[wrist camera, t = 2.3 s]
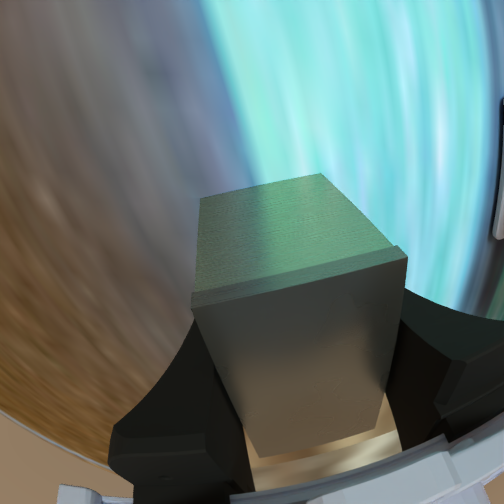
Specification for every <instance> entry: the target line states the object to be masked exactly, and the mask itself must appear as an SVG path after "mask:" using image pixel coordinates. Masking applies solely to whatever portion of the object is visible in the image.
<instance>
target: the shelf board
mask: <svg viewBox="0 0 504 504" xmlns="http://www.w3.org/2000/svg"><path fill="white" fill-rule="evenodd" d="M243 429H244V427H243ZM244 435H245V440H246V446H247V451H248V456H249V461H250V467H251V471H252V476H253V481H254V485H255V490H256V492H257V491H264V490H270V489H275V488H281V487H286V486H291V485H296V484H300V483H305V482H309V481H313V480H317V479H321V478H325V477H329V476H332V475H336V474H339V473H343V472H346V471H350V470H353V469H356V468H359V467H362V466H365V465H368V464H371V463H374V462H377V461H380V460H382V459H385V458H388V457H390V456H393V455H396V454H398V453H401V452H402V448H401V444H400V440H399V436H398V432H397V428H396V425H395V421H394V418H393V415H392V412H391V408H390V405H389V402H388V400H387V397H386V394H385V393H384V397H383V401H382V405H381V408H380V412H379V416H378V419H377V423H376V426H375V429H372V430H369V431H366V432H363V433H360V434H357V435H354V436H351V437H347V438H344V439H341V440H337V441H334V442H330V443H327V444H323V445H319V446H315V447H311V448H307V449H303V450H299V451H294V452H290V453H285V454H280V455H275V456H270V457H265V458H259V457H258V455H257V453H256V451H255V449H254V447H253V445H252V443H251V441H250V439H249V437H248V435H247V433H246V431H245V429H244Z"/></svg>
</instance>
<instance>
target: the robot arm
mask: <svg viewBox="0 0 504 504" xmlns="http://www.w3.org/2000/svg"><path fill="white" fill-rule="evenodd" d="M503 103H504V101H503ZM492 234H493V236H494V237H495V238H496V239H497V240H500V239H503V238H504V127H503V152H502V165H501V176H500V185H499V193H498V201H497V207H496V214H495V220H494V225H493V232H492ZM385 394H386V397H387V400H388V402H389V405H390V408H391V412H392V415H393V418H394V421H395V425H396V428H397V432H398V436H399V440H400V444H401V448H402V452H401V453H398V454H396V455H393V456H390V457H388V458H385V459H382V460H380V461H377V462H374V463H371V464H368V465H365V466H362V467H359V468H356V469H353V470H350V471H346V472H343V473H339V474H336V475H332V476H329V477H325V478H321V479H317V480H313V481H309V482H305V483H300V484H296V485H291V486H286V487H281V488H275V489H270V490H264V491H257V492H256V490H255V485H254V481H253V476H252V471H251V467H250V461H249V456H248V451H247V446H246V440H245V435H244V429H243V425H242V423H241V421H240V419H239V417H238V414H237V412H236V410H235V408H234V406H233V404H232V402H231V400H230V398H229V395H228V393H227V391H226V389H225V387H224V385H223V382H222V380H221V378H220V376H219V374H218V371H217V369H216V367H215V365H214V362H213V360H212V358H211V355H210V353H209V351H208V348H207V346H206V344H205V341H204V339H203V337H202V334H201V332H200V329H199V327H198V325H197V322H196V320H195V319H194V321H193V323H192V326H191V328H190V330H189V332H188V334H187V336H186V338H185V340H184V342H183V344H182V346H181V348H180V349H179V351H178V353H177V355H176V356H175V358H174V359H173V361H172V362H171V364H170V366H169V367H168V369H167V370H166V371H165V373H164V374H163V375H162V377H161V378H160V379H159V381H158V382H157V383H156V385H155V386H154V387H153V388H152V389H151V391H150V392H149V393H148V394H147V395H146V396H145V397H144V398H143V399H142V400H141V401H140V402H139V403H138V404H137V405H136V406H135V407H134V408H133V409H132V410H131V411H130V412H129V413H128V414H127V415H125V416H124V417H123V418H122V419H121V420H120V421H119V422H117V423H116V424H115V425H114V427H113V431H112V434H111V439H110V446H109V454H108V465H109V467H110V468H111V469H112V470H113V471H114V472H115V473H117V474H118V475H120V476H121V477H123V478H124V479H126V480H127V481H129V482H130V483H132V484H133V485H134V490H133V491H134V492H133V498H124V497H111V496H101V495H100V494H99V493H97V492H96V491H94V490H92V489H89V488H84V487H79V486H72V485H65V484H60V485H59V491H58V498H57V504H491V503H490V501H489V498H488V496H487V494H486V491H485V489H484V487H483V486H484V485H485V484H487V483H488V482H490V481H491V480H493V479H494V478H496V477H497V476H499V475H500V474H502V473H503V472H504V321H498V320H492V319H486V318H481V317H477V316H473V315H469V314H466V313H462V312H459V311H456V310H453V309H450V308H447V307H445V306H442V305H439V304H437V303H434V302H432V301H430V300H428V299H426V298H423V297H421V296H419V295H417V294H415V293H413V292H411V291H410V290H408V289H406V288H404V295H403V302H402V309H401V315H400V321H399V327H398V333H397V338H396V344H395V349H394V354H393V358H392V363H391V368H390V372H389V377H388V381H387V385H386V389H385Z"/></svg>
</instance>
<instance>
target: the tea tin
mask: <svg viewBox="0 0 504 504" xmlns="http://www.w3.org/2000/svg"><path fill="white" fill-rule="evenodd" d="M407 262H408V256H407V255H406V254H405V253H404V252H403V251H402V250H401V249H400V248H399V247H398V246H397V245H396V246H393V245H392V244H391V242H390V241H389V240H388V239H387V238H386V237H385V236H384V235H383V234H382V233H381V232H380V231H379V230H378V229H377V228H376V227H375V226H374V225H373V224H372V222H371V221H370V220H369V219H368V218H367V217H366V216H365V215H364V214H363V213H362V212H361V211H360V210H359V209H358V208H357V207H356V206H355V205H354V204H353V203H352V202H351V201H350V200H349V199H348V198H347V197H346V196H345V195H344V194H342V193H341V192H340V191H339V190H338V189H337V188H336V187H335V186H334V185H333V184H332V183H331V182H330V181H329V180H328V179H327V178H326V177H325V176H324V175H322V174H321V173H319V174H314V175H309V176H303V177H298V178H293V179H288V180H283V181H278V182H273V183H268V184H263V185H258V186H254V187H249V188H245V189H240V190H236V191H231V192H227V193H222V194H218V195H214V196H209V197H205V198H201V199H200V209H199V223H198V238H197V255H196V274H195V292H193V293H192V295H191V310H192V312H193V315H194V317H195V320H196V322H197V325H198V327H199V329H200V332H201V334H202V337H203V339H204V341H205V344H206V346H207V348H208V351H209V353H210V355H211V358H212V360H213V362H214V365H215V367H216V369H217V371H218V374H219V376H220V378H221V380H222V382H223V385H224V387H225V389H226V391H227V393H228V395H229V398H230V400H231V402H232V404H233V406H234V408H235V410H236V412H237V414H238V417H239V419H240V421H241V423H242V425H243V427H244V429H245V431H246V433H247V435H248V437H249V439H250V441H251V443H252V445H253V447H254V449H255V451H256V453H257V455H258V457H259V458H265V457H270V456H275V455H280V454H285V453H290V452H294V451H299V450H303V449H307V448H311V447H315V446H319V445H323V444H327V443H330V442H334V441H337V440H341V439H344V438H347V437H351V436H354V435H357V434H360V433H363V432H366V431H369V430H372V429H375V426H376V423H377V419H378V416H379V412H380V408H381V405H382V401H383V397H384V393H385V389H386V385H387V381H388V377H389V372H390V368H391V363H392V358H393V354H394V349H395V344H396V338H397V333H398V327H399V321H400V315H401V309H402V302H403V295H404V288H405V280H406V271H407Z"/></svg>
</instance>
